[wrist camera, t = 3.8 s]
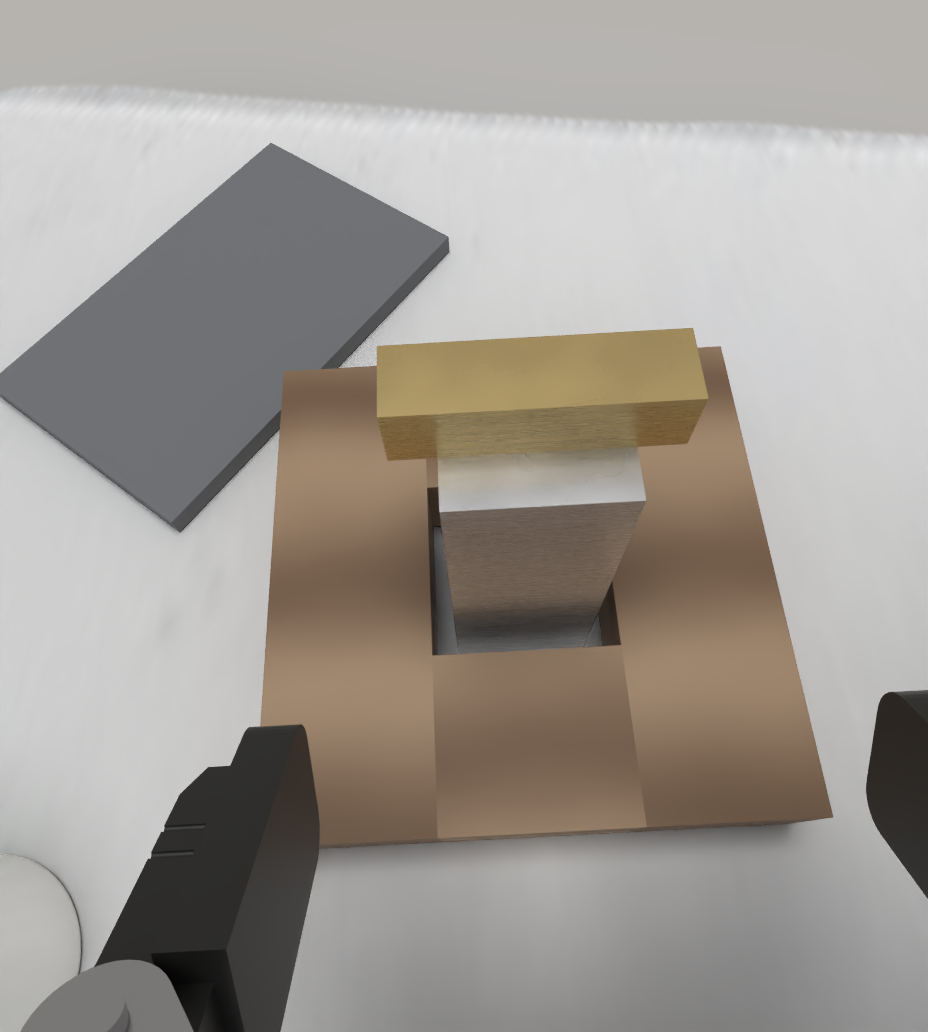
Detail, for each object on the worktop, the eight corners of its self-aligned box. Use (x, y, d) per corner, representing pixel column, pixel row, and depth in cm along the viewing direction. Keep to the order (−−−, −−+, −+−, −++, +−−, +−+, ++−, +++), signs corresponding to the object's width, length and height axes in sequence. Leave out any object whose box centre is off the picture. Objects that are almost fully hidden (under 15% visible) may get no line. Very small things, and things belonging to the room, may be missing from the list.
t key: (428, 658, 24) (376, 475, 13) (425, 545, 26) (377, 296, 15) (612, 648, 24) (721, 456, 13) (597, 536, 26) (682, 279, 15)
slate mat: (275, 157, 35) (270, 142, 34) (449, 251, 32) (448, 236, 31) (-1, 396, 29) (-13, 384, 29) (179, 532, 27) (171, 522, 26)
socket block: (303, 418, 29) (283, 371, 26) (698, 396, 28) (720, 346, 26) (281, 850, 22) (252, 848, 19) (790, 823, 22) (833, 817, 19)
